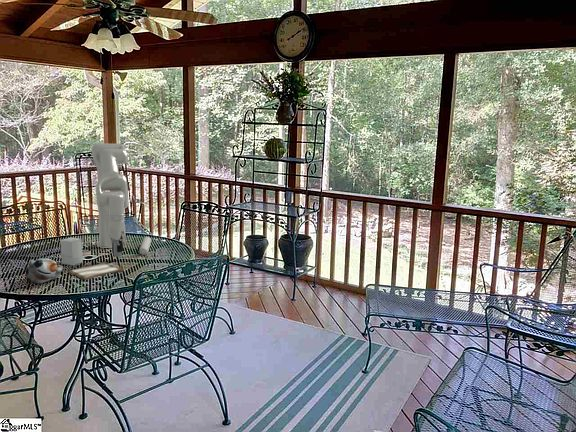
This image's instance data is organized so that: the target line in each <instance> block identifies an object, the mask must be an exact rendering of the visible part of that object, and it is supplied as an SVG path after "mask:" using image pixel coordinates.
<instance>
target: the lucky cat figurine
mask: <svg viewBox="0 0 576 432" xmlns="http://www.w3.org/2000/svg"><path fill="white" fill-rule="evenodd" d="M63 268H64V266H63V265H61V264H59V265H58V264H57V262H56V261H55V260H53V259H51V258H48V257H47V258H46V257H42V258H37V259H36V260H34V259H31V260H30V261H29V264H28V266H27V267H26V269H25V278H26V279H25V280H27V281H29V282H30V283H31V284H44V283H46V282H49V281H51V280H54V279H57V278H60V274H61V272H62V270H64V269H63Z"/></svg>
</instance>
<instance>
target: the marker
mask: <svg viewBox="0 0 576 432" xmlns="http://www.w3.org/2000/svg"><path fill="white" fill-rule="evenodd" d="M120 239H121V238H120ZM120 241H121V240H119V242H120ZM113 244H114V251H113V257H115V258H119V257H122V256H123V252H117V245H118V243H117V240H115V239H113Z"/></svg>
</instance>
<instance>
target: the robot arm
mask: <svg viewBox="0 0 576 432" xmlns="http://www.w3.org/2000/svg"><path fill="white" fill-rule="evenodd" d="M91 155H92V158H93V162H94V164H95V166H96V172H97V173H96V175H97V182H96V184H95V198H96V206H97V211H98V225H99V226H98V229H99V232H98V233H99V237H98V239H97V240H98V242H99V243H97V244H96V247H97V248H98V247H100V248H99V249H104V248H109V249H112V251H113V252H114V244H113V239H115V240H117V243H118V245H117V252H122V253H123V252H124V243H125V242H126V224H125V209H127V208H128V207H129V189H128V188H129V187H128V179H127V177H126V176H125V174H121V173H120V172H119V166H118V165H126V164H127V163H128V161H129V155H128V151H127V150H126V148H125V146H124V144H122V143H103V142H102V143H95V144H93V145H92V146H91ZM120 238H121V239H120ZM119 240H121V241H120V242H119Z"/></svg>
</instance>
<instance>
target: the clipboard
mask: <svg viewBox="0 0 576 432" xmlns="http://www.w3.org/2000/svg"><path fill="white" fill-rule="evenodd" d="M115 272H119V273H122V272H125V271H124V269H123V268H121V267H119V266H118V265H117V264H115V263H112V262H111V263H109V262H103V263H99V264H98V263H97V264H93V265H88V266H84V267H78V268H75V269H71V270H70V269H69V270H68V272H67V273H68V274H70V275H73V276H75V277H77V278H80V279H82V280H84V281H87V280H88V279H89V280H92V279H91V278H93V279H95V278H94V277H97V278H99V277H98V276H101V277H103V276H102V275H106V274H109V273H114V274H116V273H115ZM106 276H107V275H106Z"/></svg>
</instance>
